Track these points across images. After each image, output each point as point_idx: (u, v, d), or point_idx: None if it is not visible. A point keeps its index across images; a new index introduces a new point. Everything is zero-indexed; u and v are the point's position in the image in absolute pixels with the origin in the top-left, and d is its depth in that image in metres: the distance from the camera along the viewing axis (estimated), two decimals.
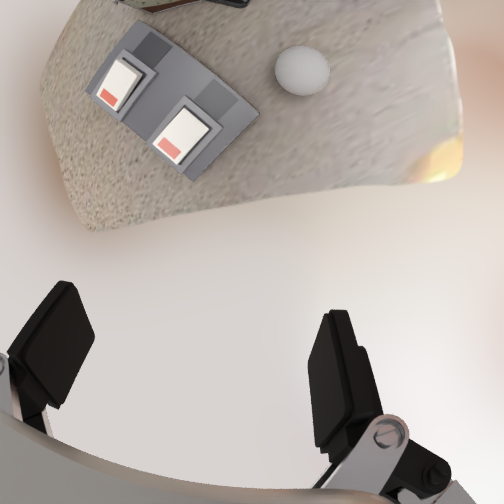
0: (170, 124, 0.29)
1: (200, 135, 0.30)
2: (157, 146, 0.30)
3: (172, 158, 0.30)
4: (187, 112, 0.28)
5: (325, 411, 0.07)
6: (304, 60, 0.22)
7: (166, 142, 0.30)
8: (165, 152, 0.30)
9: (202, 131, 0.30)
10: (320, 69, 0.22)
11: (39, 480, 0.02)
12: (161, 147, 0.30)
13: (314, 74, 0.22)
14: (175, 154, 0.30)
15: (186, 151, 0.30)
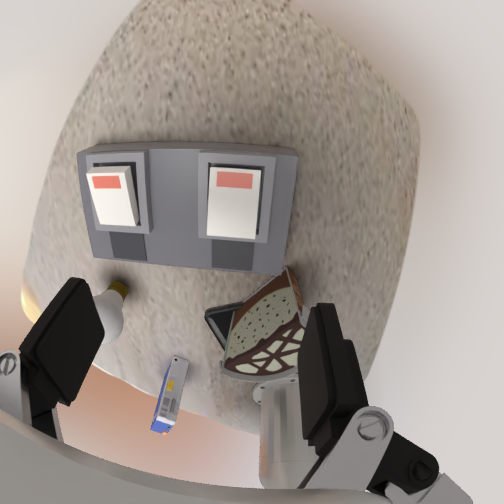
0: (128, 203, 0.22)
1: (98, 214, 0.23)
2: (116, 174, 0.20)
3: (94, 175, 0.20)
4: (128, 224, 0.24)
5: (311, 403, 0.07)
6: None
7: (114, 184, 0.21)
8: (104, 175, 0.20)
9: (101, 218, 0.24)
10: None
11: (39, 480, 0.02)
12: (112, 177, 0.21)
13: None
14: (96, 180, 0.21)
15: (92, 192, 0.22)
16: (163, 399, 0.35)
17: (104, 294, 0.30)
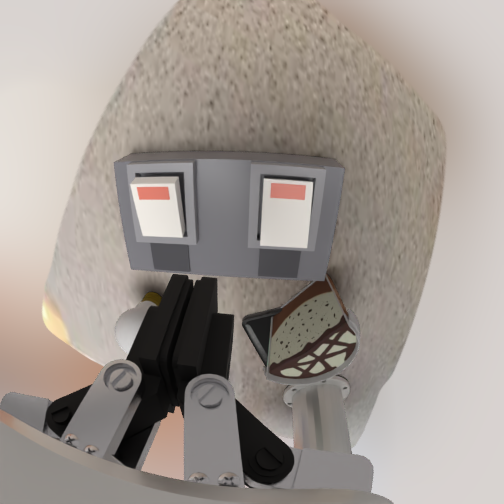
0: (177, 215, 0.23)
1: (142, 225, 0.24)
2: (166, 185, 0.21)
3: (139, 186, 0.21)
4: (174, 235, 0.25)
5: None
6: None
7: (162, 195, 0.22)
8: (152, 186, 0.21)
9: (144, 230, 0.24)
10: (126, 352, 0.28)
11: (39, 480, 0.02)
12: (160, 188, 0.21)
13: (123, 349, 0.28)
14: (141, 191, 0.22)
15: (136, 203, 0.22)
16: None
17: (141, 306, 0.31)
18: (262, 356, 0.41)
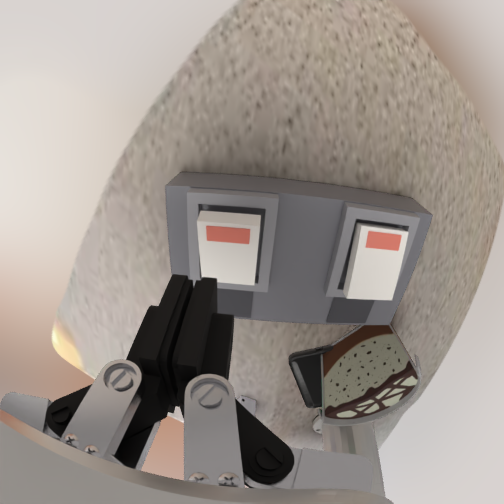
0: (253, 261, 0.20)
1: (203, 269, 0.20)
2: (248, 227, 0.18)
3: (210, 225, 0.18)
4: (244, 283, 0.21)
5: None
6: None
7: (239, 238, 0.18)
8: (228, 226, 0.18)
9: (205, 274, 0.21)
10: None
11: (39, 480, 0.02)
12: (240, 230, 0.18)
13: None
14: (211, 231, 0.18)
15: (201, 244, 0.19)
16: None
17: None
18: (302, 389, 0.37)
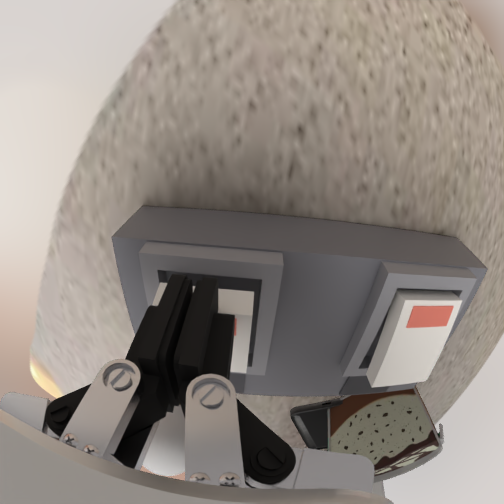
0: (244, 352, 0.13)
1: None
2: None
3: None
4: (232, 370, 0.14)
5: None
6: (167, 475, 0.17)
7: None
8: None
9: None
10: None
11: (39, 480, 0.02)
12: None
13: (148, 469, 0.17)
14: None
15: None
16: None
17: None
18: (304, 436, 0.30)
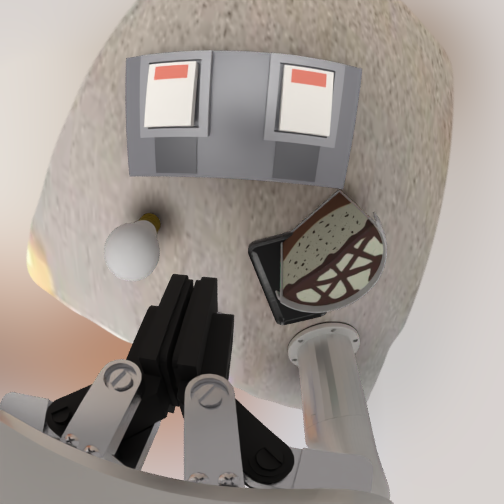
0: (190, 95, 0.19)
1: (147, 112, 0.20)
2: (186, 63, 0.18)
3: (158, 66, 0.18)
4: (181, 123, 0.20)
5: None
6: (127, 272, 0.24)
7: (179, 74, 0.18)
8: (171, 65, 0.18)
9: (148, 118, 0.20)
10: (115, 274, 0.25)
11: (39, 480, 0.02)
12: (180, 65, 0.18)
13: (112, 268, 0.24)
14: (159, 71, 0.18)
15: (149, 85, 0.19)
16: None
17: (137, 223, 0.28)
18: (268, 295, 0.38)
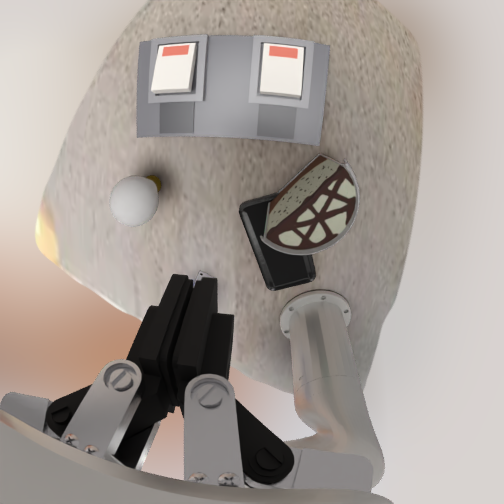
0: (189, 67, 0.23)
1: (154, 80, 0.23)
2: (188, 44, 0.22)
3: (166, 46, 0.22)
4: (181, 87, 0.23)
5: None
6: (128, 214, 0.28)
7: (182, 52, 0.22)
8: (176, 45, 0.22)
9: (154, 84, 0.23)
10: (117, 217, 0.28)
11: (39, 480, 0.02)
12: (183, 46, 0.22)
13: (115, 211, 0.28)
14: (166, 50, 0.22)
15: (157, 60, 0.23)
16: None
17: None
18: (258, 257, 0.41)
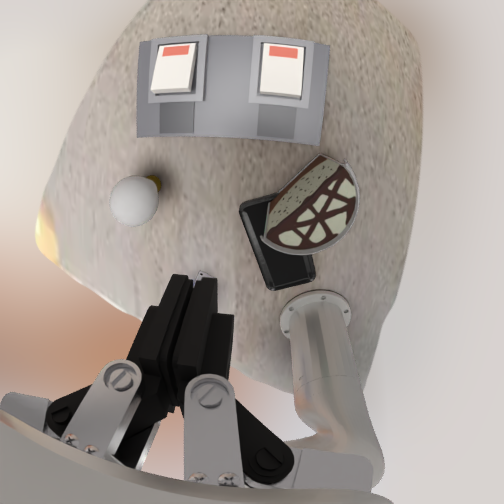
0: (189, 66, 0.23)
1: (154, 79, 0.23)
2: (188, 44, 0.22)
3: (166, 46, 0.22)
4: (181, 86, 0.23)
5: None
6: (128, 214, 0.28)
7: (182, 52, 0.22)
8: (176, 46, 0.22)
9: (154, 83, 0.23)
10: (117, 217, 0.28)
11: (39, 480, 0.02)
12: (183, 46, 0.22)
13: (115, 211, 0.28)
14: (166, 50, 0.22)
15: (157, 60, 0.23)
16: None
17: None
18: (258, 257, 0.41)
